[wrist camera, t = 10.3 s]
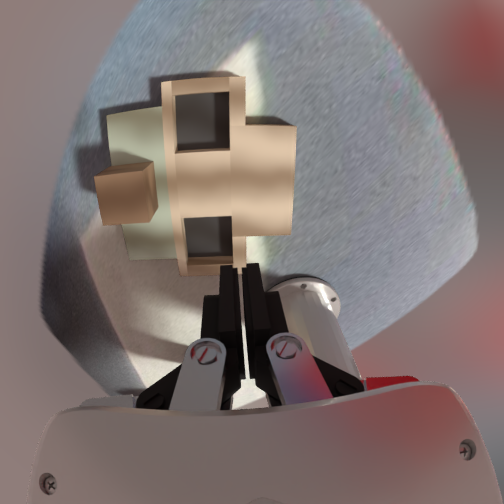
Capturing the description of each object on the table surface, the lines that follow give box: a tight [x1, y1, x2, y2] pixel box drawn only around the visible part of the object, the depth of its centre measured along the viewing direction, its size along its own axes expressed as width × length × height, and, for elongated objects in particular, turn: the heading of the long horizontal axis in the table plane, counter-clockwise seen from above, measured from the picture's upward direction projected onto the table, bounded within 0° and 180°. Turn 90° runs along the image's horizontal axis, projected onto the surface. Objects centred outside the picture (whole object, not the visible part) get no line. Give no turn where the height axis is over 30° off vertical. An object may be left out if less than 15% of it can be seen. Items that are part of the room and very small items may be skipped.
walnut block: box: [94, 161, 159, 226], centre depth 25 cm, size 5×5×4 cm
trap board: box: [106, 77, 297, 276], centre depth 28 cm, size 22×19×2 cm
